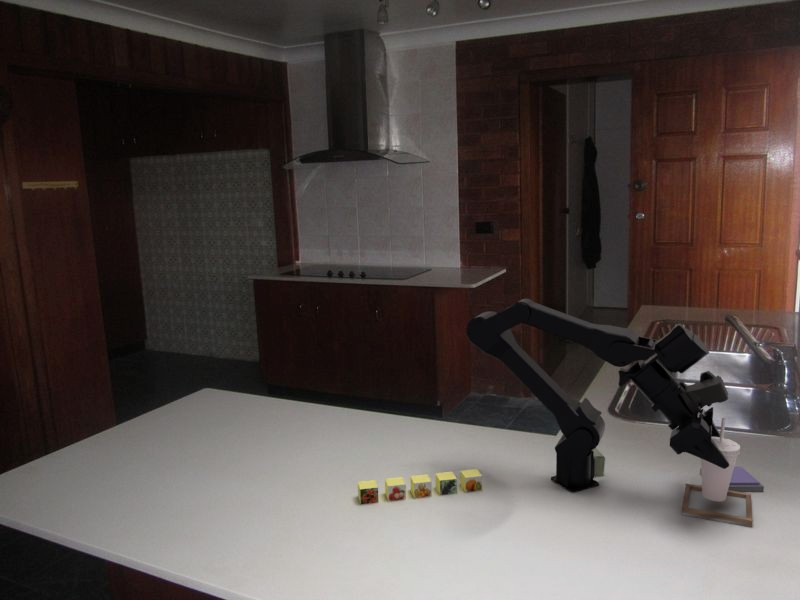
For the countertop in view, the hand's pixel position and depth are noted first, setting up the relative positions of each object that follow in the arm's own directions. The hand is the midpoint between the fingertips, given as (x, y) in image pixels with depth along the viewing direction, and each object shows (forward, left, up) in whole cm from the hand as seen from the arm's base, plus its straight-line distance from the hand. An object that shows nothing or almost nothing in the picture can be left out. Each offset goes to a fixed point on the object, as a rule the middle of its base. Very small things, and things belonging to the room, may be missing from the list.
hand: (727, 459), depth 113 cm
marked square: (-1, +1, -9) cm, 9 cm away
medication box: (-7, +26, -9) cm, 28 cm away
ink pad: (+10, +6, -9) cm, 15 cm away
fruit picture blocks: (-43, +28, -9) cm, 52 cm away
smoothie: (-1, +1, -7) cm, 7 cm away
